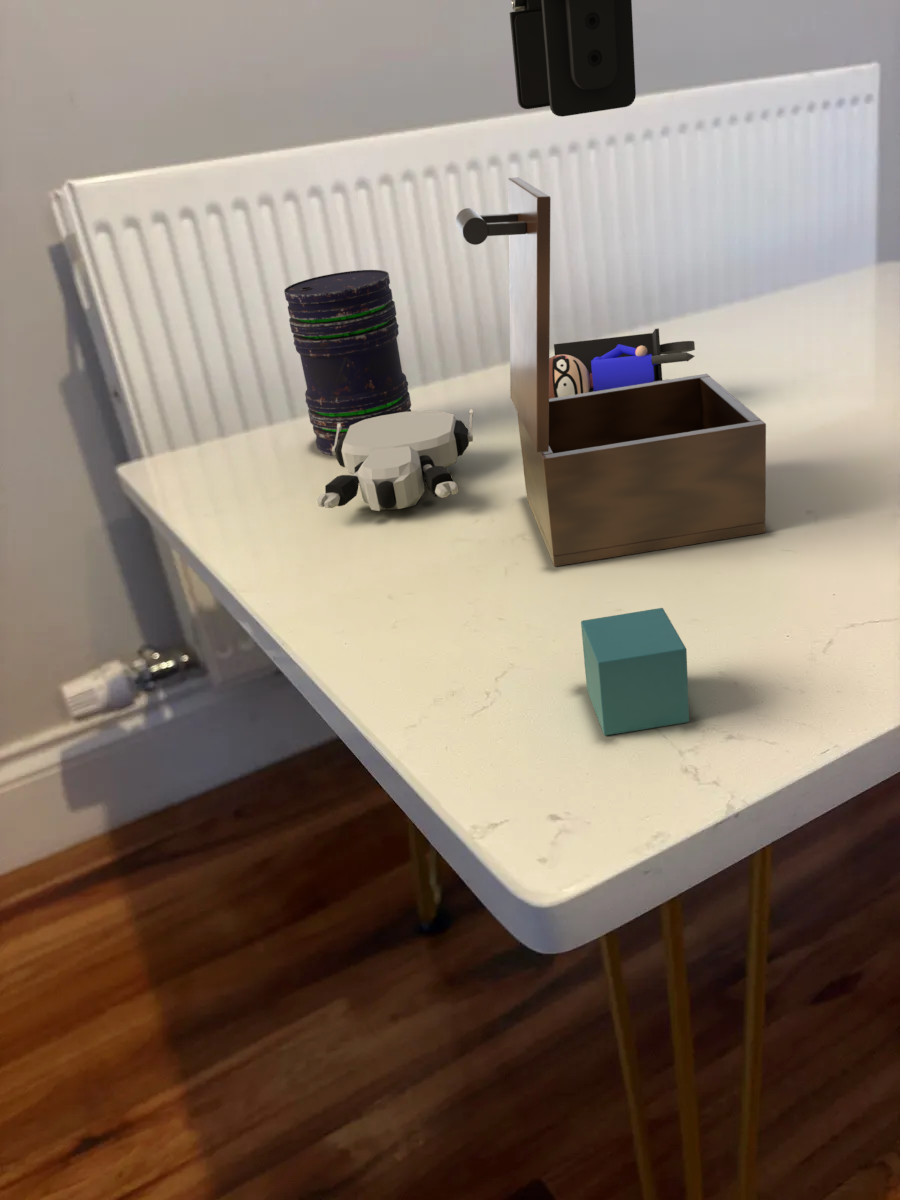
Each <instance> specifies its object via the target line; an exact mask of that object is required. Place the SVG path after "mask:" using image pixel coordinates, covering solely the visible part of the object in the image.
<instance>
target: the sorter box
mask: <svg viewBox="0 0 900 1200" xmlns="http://www.w3.org/2000/svg"><path fill="white" fill-rule="evenodd" d="M662 380H663V381H657V382H651V383H645V384H638V385H632V386H626V387H619V388H613V389H607V390H601V391H594V392H588V393H582V394H576V395H569V396H563V397H557V398H551V399H549V451H548V452H536V449H535V447H534V445H533V443H532V441H531V439H530V437H529V435H528V433H527V431H526V429H525V427H524V425H523V422H522V420H521V418H520V416H519V414H518V412H517V411H516V413H517V422H518V430H519V439H520V448H521V449H520V450H521V459H522V467H523V476H524V485H525V494H526V500H527V502H528V505H529V508H530V510H531V512H532V515H533V517H534V520H535V523H536V524H537V527H538V529H539V532H540V534H541V538H542V539H543V542H544V544H545V546H546V549H547V551H548V555H549V557H550V559H551V562H552V564H553V566H554V567H560V566H566V565H572V564H573V565H574V564H578V563H585V562H591V561H597V560H604V559H609V558H616V557H622V556H628V555H634V554H640V553H641V554H642V553H647V552H653V551H660V550H666V549H671V548H678V547H685V546H692V545H697V544H703V543H709V542H717V541H722V540H726V539H735V538H740V537H744V536H745V537H747V536H752V535H759V534H764V533H766V509H767V508H766V504H767V503H766V501H767V500H766V499H767V497H766V496H767V495H766V490H767V489H766V488H767V486H766V485H767V484H766V483H767V476H766V475H767V471H766V470H767V469H766V467H767V424H766V422H765V421H764V420H762V419H761V418H760V417H758V416H757V414H755V413H754V412H753V411H751V410H750V409H749V408H748V407H747V406H746V405H744V403H742V402H741V401H739V399H737V398H736V397H735V396H733V394H731V393H730V392H729V391H728V390H727V389H725V387H723V386H722V385H721V384H720V383H719V382H717V381H716V380H715V379H714V378H713V377H712V376H710V375H709V373H702V374H695V375H688V376H682V377H675V378H671V379H670V380H669V379H662Z"/></svg>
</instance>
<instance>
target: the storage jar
mask: <svg viewBox="0 0 900 1200" xmlns="http://www.w3.org/2000/svg"><path fill="white" fill-rule="evenodd" d="M389 273H390V272H388V271H386V270H383V269H382V270H381V269H360V270H349V271H342V272H341V271H340V272H334V273H330V274H325V275H324V274H323V275H320V276H316V277H312V278H311V277H310V278H308V279H304V280H301V281H297V282H296V283H293V284H291V285H289V286H287V287H286V288H284V291H283V293H284V297H285V300H286V302H287V304H288V306H287V311H288V315H289V319H288V322H289V327H290V331H291V333H292V334H293V335H292V337H293V340H294V341H293V346H295V347H294V348H295V351H296V353H298V354H299V357H300V361H301V367H302V371H303V376H304V381H305V385H306V390H305V392H304V396H305V403H306V406H307V408H308V410H307V412H308V413H307V414H308V418H309V421H310V424H311V425H312V431H313V433H314V435H315V438H316V439H315V445H316V450H318V451H319V452H320V453H322V454H325V455H328V456H333V454H332V447H333V446H334V444H335V439H336V433H337V424H339V423H340V424H341V431H340V435H339V439H340V438H341V436H342V434H343V433H345V432H348V429H349V427H350V426H351V425H353V424H355V423H357V422H360V421H362V420H365V419H369V418H373V417H378V416H382V415H388V414H394V413H400V412H412V410H411V407H412V402H411V401H412V400H411V395H410V392H409V391H408V390H409V387H408V386H409V382H408V380H407V375H406V374H405V373H404V372H403V368H402V362H401V356H400V351H399V344H398V339H397V338H398V336H399V333H400V332H399V327H400V326H399V324H398V320H397V317H396V316H397V309H396V308H397V307H396V302H395V301H394V300H393V292H392V289H391V288H390V284H391V279H390V274H389ZM338 441H339V440H338Z"/></svg>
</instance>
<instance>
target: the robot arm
mask: <svg viewBox="0 0 900 1200" xmlns="http://www.w3.org/2000/svg"><path fill="white" fill-rule="evenodd" d="M632 1H633V0H510V3H511V8H512V11H510V12H509V21H510V22H509V24H510V33H511V43H512V54H513V55H512V56H513V64H514V65H513V66H514V74H515V87H516V96H517V103H518V106H519V107H520V108H521V109H523V110H532V109H539V108H545V107H549V108H550V111H551V113H552V114H553V115H555V116H557V117H569V116H577V115H582V114H590V113H595V112H596V113H597V112H602V111H609V110H617V109H624V108H628V107H630V106H631V105H632V104H633V103H634V102H635V100H636V95H637V92H636V90H637V88H636V72H635V70H636V68H635V67H636V66H635V47H634V46H635V45H634V25H633V5H632Z"/></svg>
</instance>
